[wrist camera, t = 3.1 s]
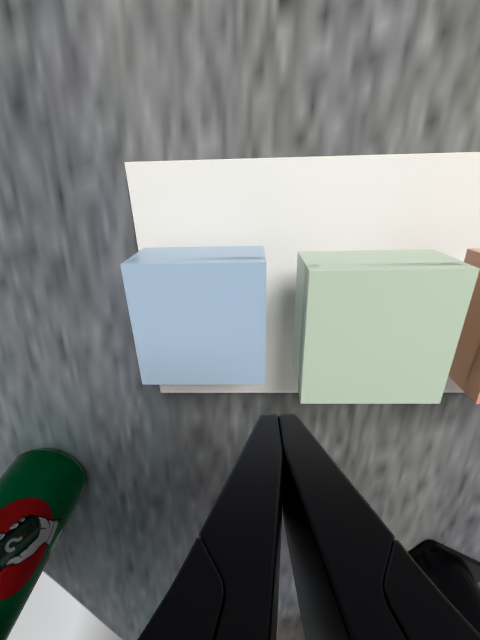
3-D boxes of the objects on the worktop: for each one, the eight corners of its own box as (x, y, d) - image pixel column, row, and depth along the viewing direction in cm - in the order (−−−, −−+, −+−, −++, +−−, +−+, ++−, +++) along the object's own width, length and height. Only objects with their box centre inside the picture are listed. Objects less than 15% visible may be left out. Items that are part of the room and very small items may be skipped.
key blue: (263, 245, 14) (266, 261, 11) (262, 350, 16) (265, 384, 13) (144, 247, 14) (120, 264, 11) (159, 351, 16) (142, 384, 14)
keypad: (748, 145, 13) (924, 135, 10) (614, 383, 18) (699, 433, 15) (131, 162, 14) (92, 159, 11) (164, 384, 19) (145, 430, 16)
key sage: (432, 249, 12) (479, 268, 10) (406, 363, 15) (440, 403, 12) (297, 251, 13) (309, 271, 10) (292, 363, 15) (300, 403, 12)
